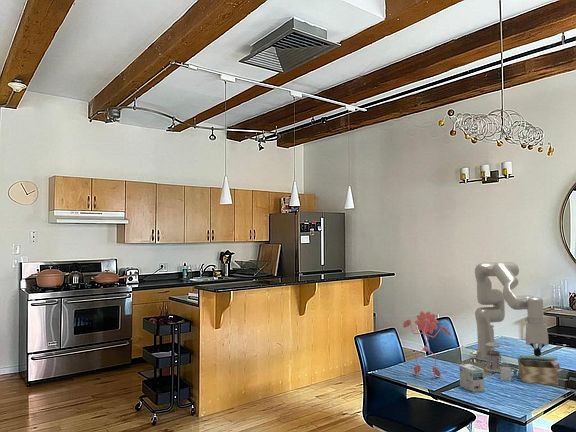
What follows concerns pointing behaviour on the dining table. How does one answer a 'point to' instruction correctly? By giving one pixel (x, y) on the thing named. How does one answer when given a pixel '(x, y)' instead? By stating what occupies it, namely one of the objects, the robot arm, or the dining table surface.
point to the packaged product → (557, 366)
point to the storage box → (538, 372)
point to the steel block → (505, 373)
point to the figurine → (426, 324)
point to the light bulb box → (472, 377)
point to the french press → (493, 356)
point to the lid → (537, 358)
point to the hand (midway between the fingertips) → (537, 356)
